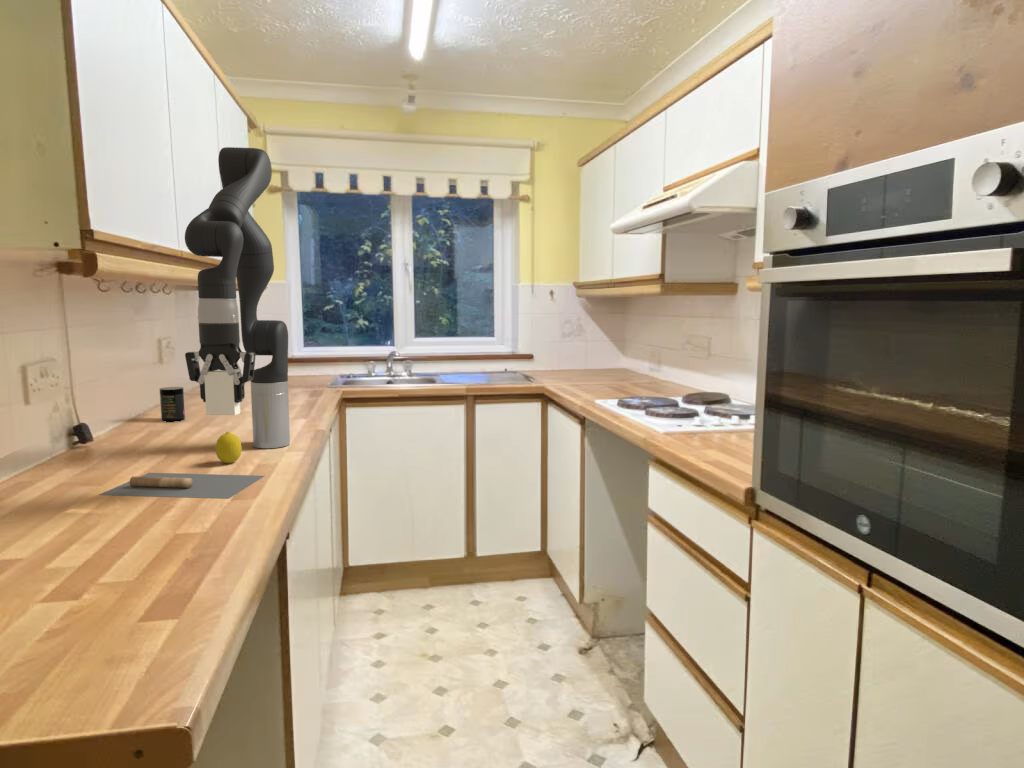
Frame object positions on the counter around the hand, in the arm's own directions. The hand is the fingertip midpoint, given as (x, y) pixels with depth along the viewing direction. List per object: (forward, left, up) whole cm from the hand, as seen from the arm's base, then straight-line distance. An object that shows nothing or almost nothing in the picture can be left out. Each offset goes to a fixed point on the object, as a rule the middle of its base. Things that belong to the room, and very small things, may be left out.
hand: (222, 401), depth 131 cm
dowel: (+6, -11, -17) cm, 21 cm away
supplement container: (-65, -51, -18) cm, 84 cm away
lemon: (-14, -7, -18) cm, 24 cm away
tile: (0, 0, -3) cm, 3 cm away
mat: (+4, -7, -17) cm, 19 cm away
